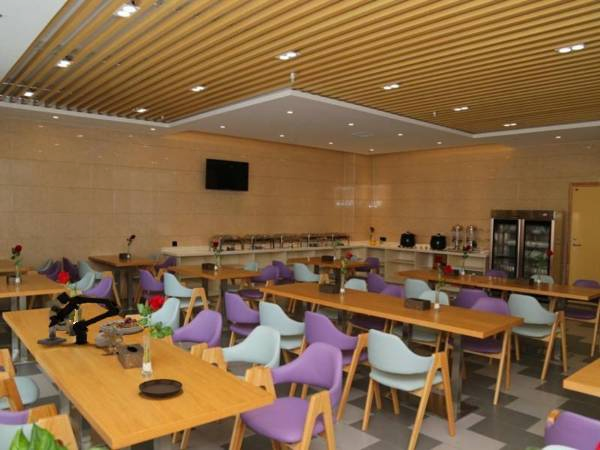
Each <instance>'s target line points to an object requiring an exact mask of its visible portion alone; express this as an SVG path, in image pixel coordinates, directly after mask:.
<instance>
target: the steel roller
mask: <svg viewBox="0 0 600 450" xmlns="http://www.w3.org/2000/svg"><path fill="white" fill-rule="evenodd" d="M50 323H51V320H50V319H49V320H48V326H49V325H50ZM55 337H57V329H56V325H55V326H52V327H50V328H49V327H48V338H55Z"/></svg>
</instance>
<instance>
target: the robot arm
mask: <svg viewBox="0 0 600 450" xmlns="http://www.w3.org/2000/svg"><path fill="white" fill-rule="evenodd" d="M55 300H57V301H58V302H59V303H60V304H61V305H62V306H63V305H65V306H64V307H61V306H59V305H57V304H53V305H52V306H51V307H50V311H51V312H54V313H55V312H56V314H57V316H56V315H55V314H52V315H51V316H50V317H49V319H50V320H51V323H50V325H49V324H48V329H49V328H50V327H52V326H55V325H57V324H59V323H61V322H63V321H65V320H64V319H66V320H67V319H68V318H69V317H70V314H71V312H73V311H74V310H75V309H76V310H79V309H80V308H81V307H80V305H84V304H99V305H100V304H101V305H105V306H106V308H107V309H108V310H107V311H105V312H103V313H101V314H100V313H99V314H98V315H97V316H94V317H92V318H89V319H86V320H85V318H81V321H78V322H76V323H75V324H74V325H73V331H74V332H75V335H76V336H75V342H73V344H75V345H85V344H88V343H89V341H88V332H89V328H88V327H90V326H91V325H94V324H96V323H98V322H100V321H103V320H105V319H108V318H114V317H117V316H119V315H120V314H121V313H122V312H123V307H122V306H121V305H119V304H118V303H117V302H115V301H114V300H113V298H111V297H101V296H99V297H98V296H89V295H86V294H82V293H81V294H77V295H75V296H70V295H69V294H68V292H67V291H63V292H62V293H60V294H59V295H58V296H57V297H56V299H55Z"/></svg>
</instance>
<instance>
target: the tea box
mask: <svg viewBox="0 0 600 450" xmlns="http://www.w3.org/2000/svg"><path fill="white" fill-rule="evenodd" d="M54 313H55V314H54V315H56V316H57V314H56V312H54ZM82 313H83V308H81V307H80V309H79V310H78V321H81V320H82ZM74 316H75V310H74V311H73V312H71V314H70V317H69V318H68V319H67V320H73V322H74ZM64 320H65V321H63V322H61V323H59V324H57V325H56V331H57V330H58V331H61V332H62V331H66V321H67V320H66V319H64Z"/></svg>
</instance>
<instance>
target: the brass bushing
mask: <svg viewBox="0 0 600 450" xmlns="http://www.w3.org/2000/svg"><path fill="white" fill-rule="evenodd" d="M72 324H73V320H67V321H66V330H65V332H66V335H67V334H68V335H70V325H72Z"/></svg>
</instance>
